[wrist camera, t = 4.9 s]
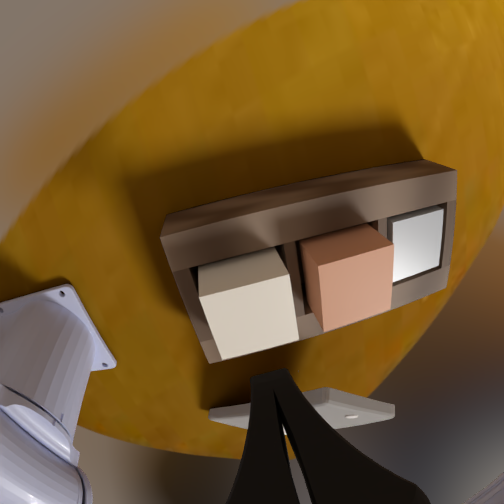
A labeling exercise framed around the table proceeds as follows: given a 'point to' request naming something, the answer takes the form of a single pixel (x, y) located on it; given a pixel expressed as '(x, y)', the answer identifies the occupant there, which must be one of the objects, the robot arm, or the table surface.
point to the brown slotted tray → (307, 231)
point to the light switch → (319, 409)
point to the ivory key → (248, 303)
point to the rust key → (347, 275)
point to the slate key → (415, 240)
